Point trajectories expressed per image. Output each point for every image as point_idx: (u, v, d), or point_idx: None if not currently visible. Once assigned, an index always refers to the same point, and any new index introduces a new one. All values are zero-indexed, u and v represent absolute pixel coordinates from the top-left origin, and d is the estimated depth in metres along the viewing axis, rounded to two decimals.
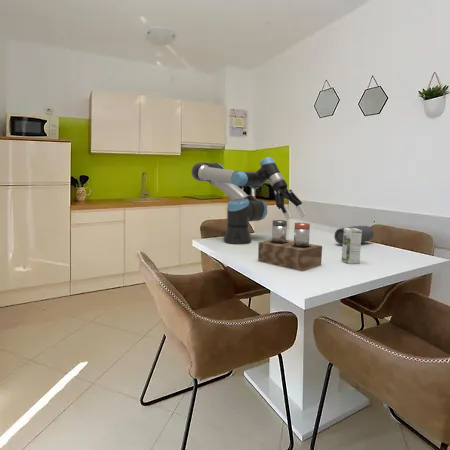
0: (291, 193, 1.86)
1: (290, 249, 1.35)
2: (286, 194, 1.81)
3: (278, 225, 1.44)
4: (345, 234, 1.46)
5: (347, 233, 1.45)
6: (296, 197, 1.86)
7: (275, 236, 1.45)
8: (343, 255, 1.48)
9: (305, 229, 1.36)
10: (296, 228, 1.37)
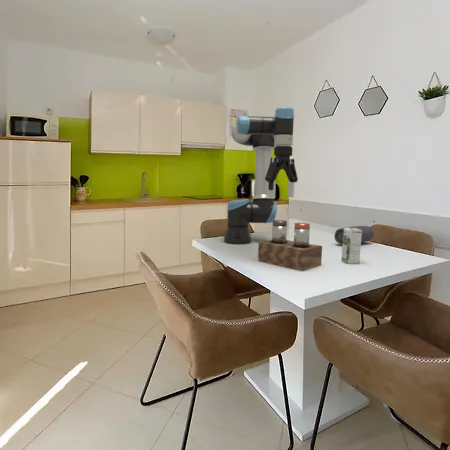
0: (291, 164, 1.47)
1: (290, 249, 1.35)
2: (284, 165, 1.43)
3: (278, 225, 1.44)
4: (345, 234, 1.46)
5: (347, 233, 1.45)
6: (294, 171, 1.49)
7: (275, 236, 1.45)
8: (343, 255, 1.48)
9: (305, 229, 1.36)
10: (296, 228, 1.37)
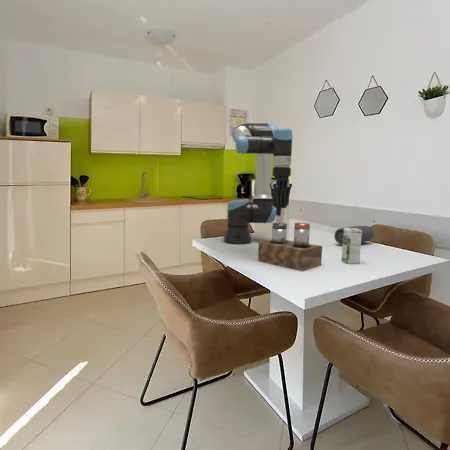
0: (288, 187, 1.47)
1: (290, 249, 1.35)
2: None
3: (278, 228, 1.44)
4: (345, 234, 1.46)
5: (347, 233, 1.45)
6: (288, 195, 1.47)
7: (275, 239, 1.45)
8: (343, 255, 1.48)
9: (305, 229, 1.36)
10: (296, 228, 1.37)
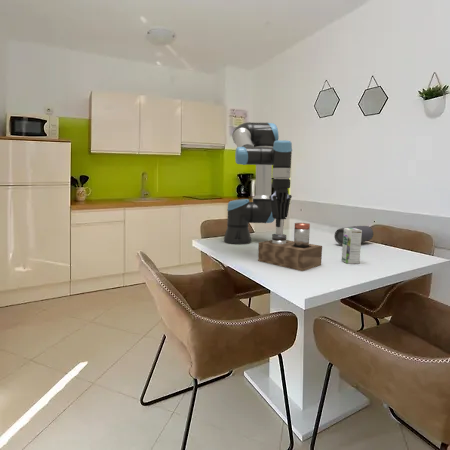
0: (287, 199, 1.48)
1: (290, 249, 1.35)
2: (283, 197, 1.44)
3: (277, 239, 1.45)
4: (345, 234, 1.46)
5: (347, 233, 1.45)
6: (287, 207, 1.47)
7: None
8: (343, 255, 1.48)
9: (305, 229, 1.36)
10: (296, 228, 1.37)
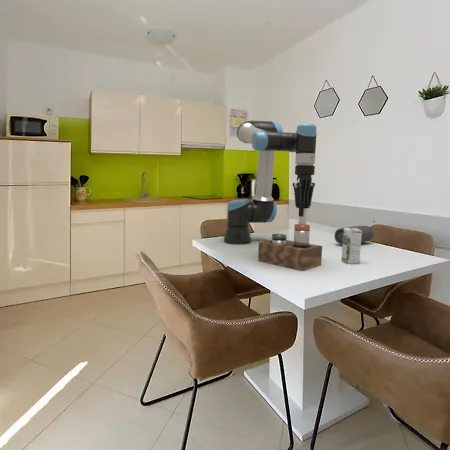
0: (311, 187, 1.39)
1: (290, 249, 1.35)
2: None
3: (277, 239, 1.45)
4: (345, 234, 1.46)
5: (347, 233, 1.45)
6: (311, 195, 1.39)
7: None
8: (343, 255, 1.48)
9: (305, 230, 1.36)
10: (296, 229, 1.38)
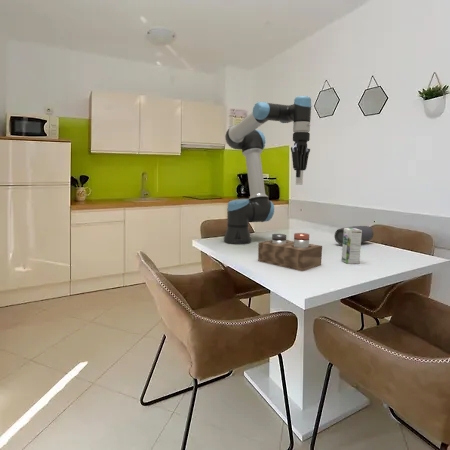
0: (306, 152, 1.61)
1: (290, 249, 1.35)
2: None
3: (277, 239, 1.45)
4: (345, 234, 1.46)
5: (347, 233, 1.45)
6: (306, 159, 1.60)
7: None
8: (343, 255, 1.48)
9: (304, 240, 1.37)
10: (296, 239, 1.38)
